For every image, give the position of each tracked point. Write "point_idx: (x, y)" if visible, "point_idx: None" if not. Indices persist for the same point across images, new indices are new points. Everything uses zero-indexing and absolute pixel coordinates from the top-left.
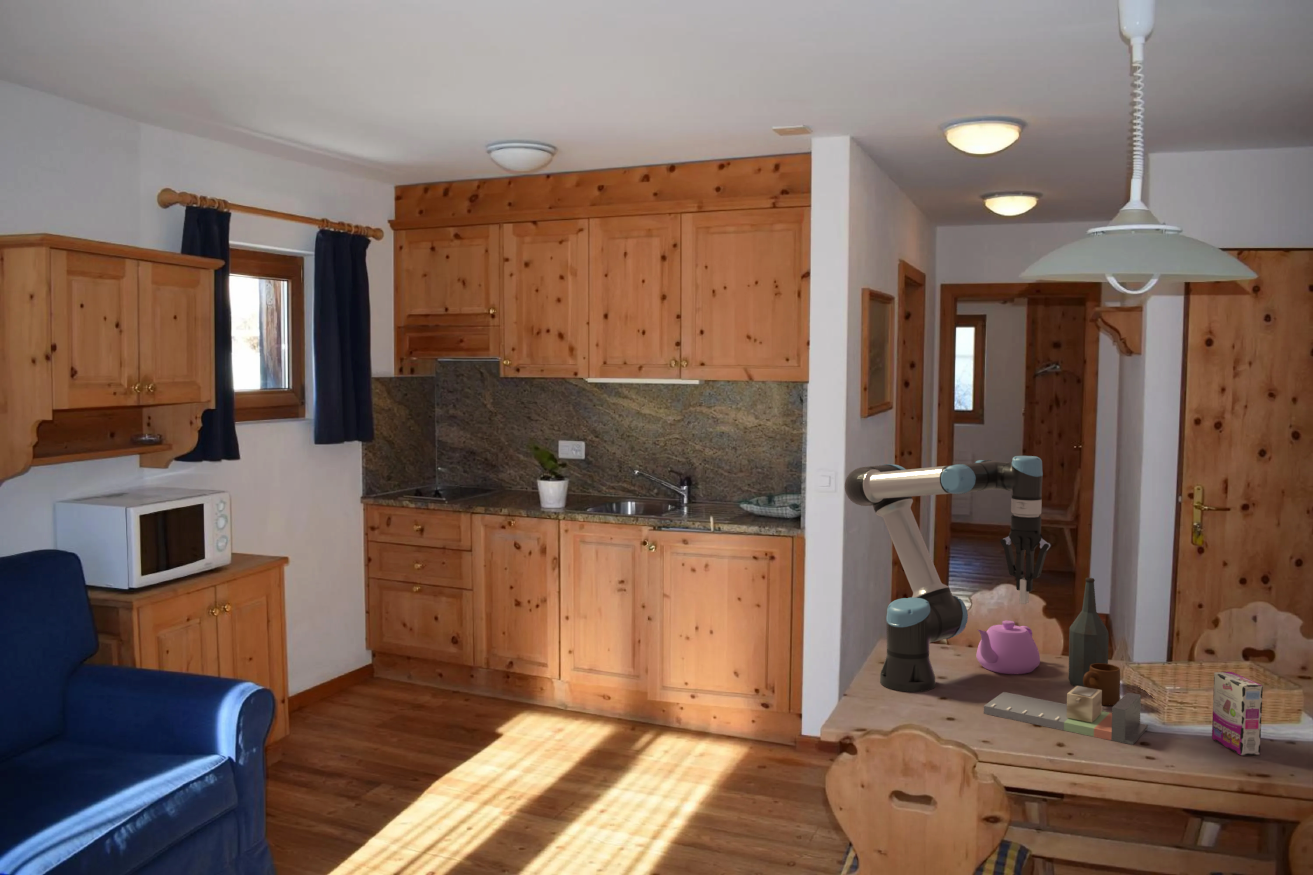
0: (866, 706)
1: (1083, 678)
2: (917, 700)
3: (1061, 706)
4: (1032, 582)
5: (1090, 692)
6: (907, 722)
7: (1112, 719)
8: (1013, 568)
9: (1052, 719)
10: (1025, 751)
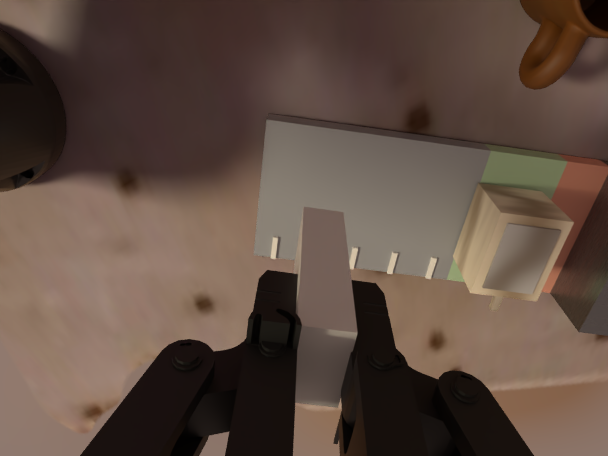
0: (22, 311)
1: (527, 84)
2: (86, 228)
3: (437, 171)
4: (391, 339)
5: (536, 264)
6: (141, 354)
7: (565, 311)
8: (165, 404)
9: (420, 272)
10: None
